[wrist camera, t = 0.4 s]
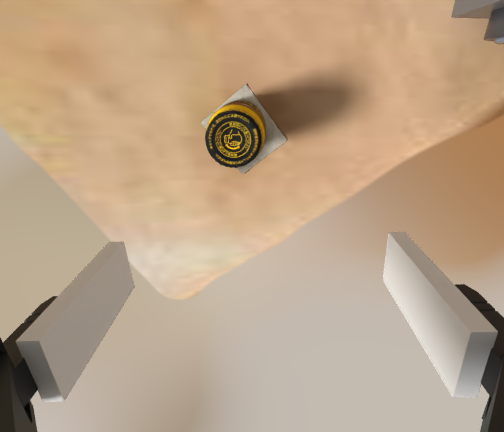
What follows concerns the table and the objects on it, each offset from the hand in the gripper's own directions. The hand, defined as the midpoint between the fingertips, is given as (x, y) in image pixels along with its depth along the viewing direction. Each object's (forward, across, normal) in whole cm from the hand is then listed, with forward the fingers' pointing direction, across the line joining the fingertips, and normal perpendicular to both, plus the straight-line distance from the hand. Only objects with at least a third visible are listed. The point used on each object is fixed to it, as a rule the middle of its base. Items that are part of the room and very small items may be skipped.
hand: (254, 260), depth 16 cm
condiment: (+28, -2, +2) cm, 28 cm away
